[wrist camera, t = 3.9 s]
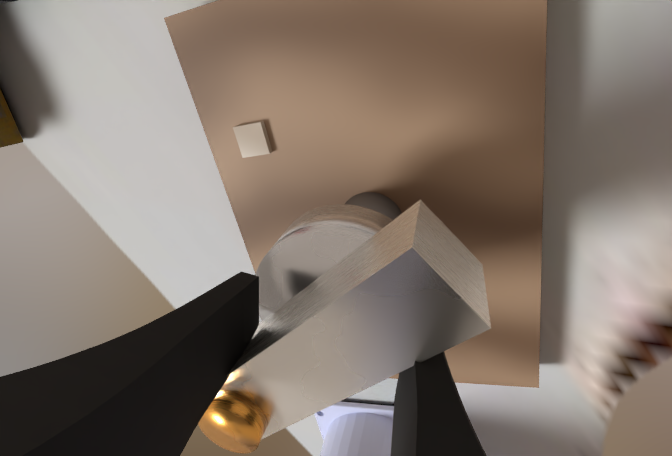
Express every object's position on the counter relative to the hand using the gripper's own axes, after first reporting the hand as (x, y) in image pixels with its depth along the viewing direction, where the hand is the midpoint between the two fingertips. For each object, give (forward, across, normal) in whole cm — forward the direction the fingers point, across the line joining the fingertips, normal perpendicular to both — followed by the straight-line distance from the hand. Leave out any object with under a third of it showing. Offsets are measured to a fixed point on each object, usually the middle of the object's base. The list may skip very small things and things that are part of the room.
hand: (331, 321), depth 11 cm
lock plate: (+8, 0, 0) cm, 8 cm away
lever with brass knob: (+2, 0, 0) cm, 2 cm away
